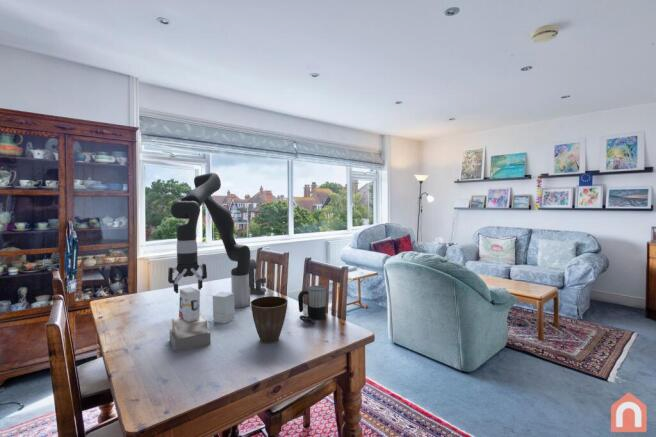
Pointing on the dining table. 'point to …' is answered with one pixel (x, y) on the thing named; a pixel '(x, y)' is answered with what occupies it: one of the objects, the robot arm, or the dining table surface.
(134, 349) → the dining table surface
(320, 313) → the milk frother
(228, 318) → the supplement box
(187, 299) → the ink box
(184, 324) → the tower top block
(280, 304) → the plant pot
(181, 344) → the tower base block
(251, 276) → the faucet
